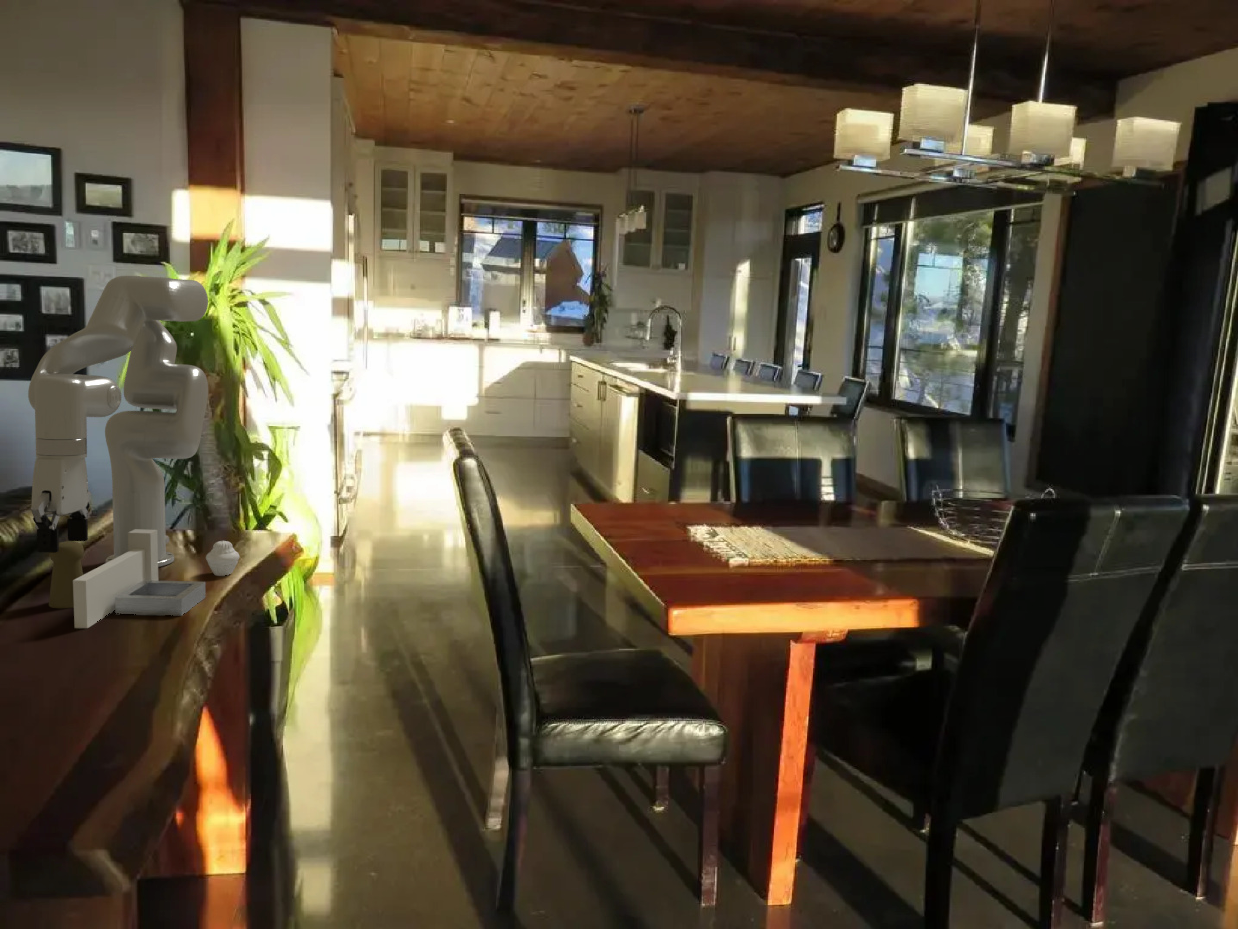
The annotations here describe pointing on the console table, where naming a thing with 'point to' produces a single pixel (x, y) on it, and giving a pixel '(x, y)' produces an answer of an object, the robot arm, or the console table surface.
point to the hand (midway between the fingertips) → (63, 546)
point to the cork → (65, 573)
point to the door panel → (115, 578)
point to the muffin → (222, 558)
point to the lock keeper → (160, 598)
